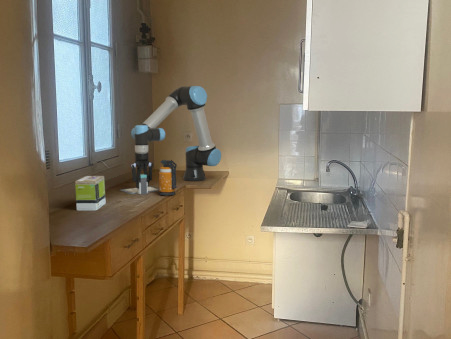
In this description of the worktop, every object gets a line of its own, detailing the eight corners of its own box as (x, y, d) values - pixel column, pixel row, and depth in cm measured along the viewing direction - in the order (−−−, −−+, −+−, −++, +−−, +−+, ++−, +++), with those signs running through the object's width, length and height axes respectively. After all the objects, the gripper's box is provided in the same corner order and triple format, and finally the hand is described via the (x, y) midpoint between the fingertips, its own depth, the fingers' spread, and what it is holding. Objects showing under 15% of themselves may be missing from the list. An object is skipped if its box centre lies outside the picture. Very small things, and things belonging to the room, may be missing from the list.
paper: (149, 186, 274) (149, 185, 274) (162, 190, 261) (162, 189, 261) (119, 190, 262) (119, 189, 262) (131, 194, 249) (131, 193, 249)
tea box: (86, 203, 224) (85, 175, 222) (106, 204, 224) (105, 175, 222) (75, 210, 210) (74, 180, 208) (96, 211, 209) (95, 180, 207)
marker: (144, 192, 254) (143, 174, 252) (147, 193, 251) (146, 174, 249) (138, 193, 251) (137, 174, 250) (141, 194, 249) (140, 175, 247)
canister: (166, 192, 255) (166, 158, 252) (181, 194, 248) (180, 159, 245) (155, 195, 247) (155, 159, 245) (170, 197, 241) (169, 161, 238)
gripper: (131, 154, 240) (132, 196, 243) (158, 152, 250) (158, 192, 253) (125, 152, 246) (126, 194, 249) (151, 151, 256) (152, 190, 259)
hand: (142, 193), depth 251 cm, fingers closed on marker, 4 cm apart
